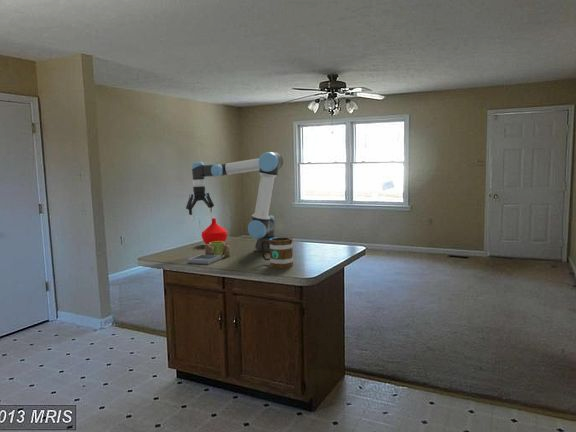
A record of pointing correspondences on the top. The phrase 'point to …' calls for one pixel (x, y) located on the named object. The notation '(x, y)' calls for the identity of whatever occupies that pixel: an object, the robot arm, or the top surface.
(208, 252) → the posts
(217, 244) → the plant pot
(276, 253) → the mug
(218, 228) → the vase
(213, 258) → the tray
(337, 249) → the top surface
